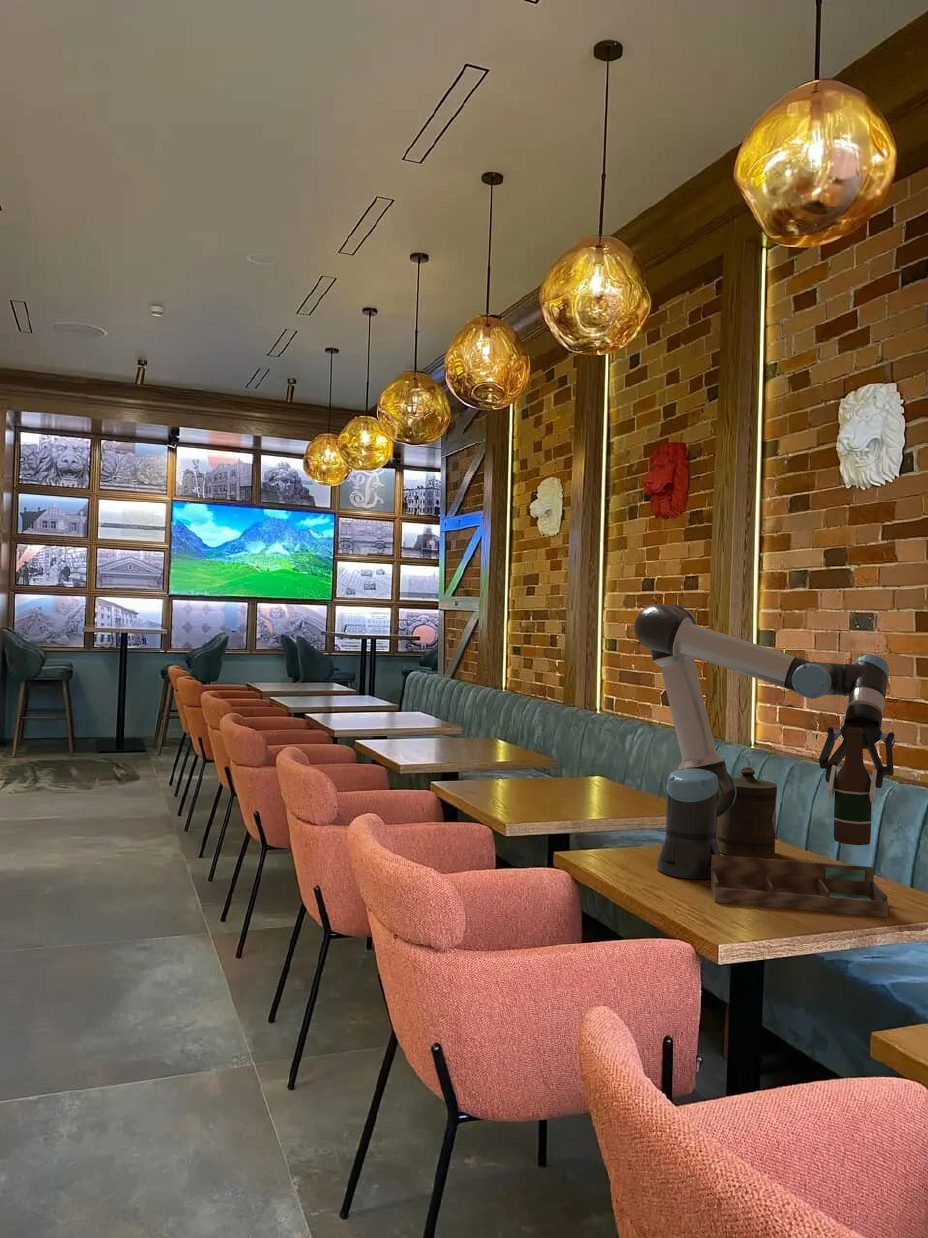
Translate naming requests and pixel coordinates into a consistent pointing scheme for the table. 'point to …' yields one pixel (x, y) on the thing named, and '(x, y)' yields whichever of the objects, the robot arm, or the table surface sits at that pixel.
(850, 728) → the beer bottle
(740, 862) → the condiment rack
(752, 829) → the wooden container
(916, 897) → the table surface
